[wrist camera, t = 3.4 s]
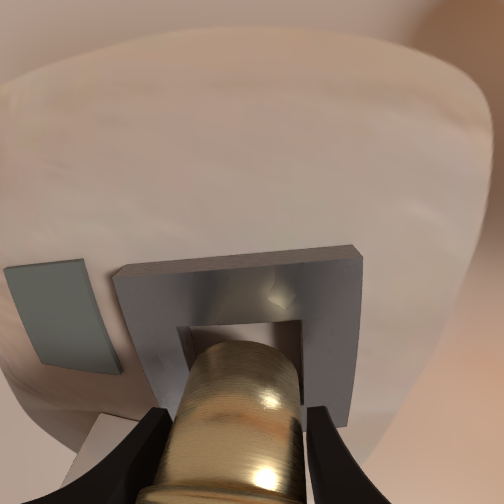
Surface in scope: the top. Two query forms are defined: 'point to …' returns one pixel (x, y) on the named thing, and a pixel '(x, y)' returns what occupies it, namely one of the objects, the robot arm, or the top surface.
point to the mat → (62, 316)
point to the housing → (249, 315)
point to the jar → (99, 444)
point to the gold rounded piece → (234, 432)
